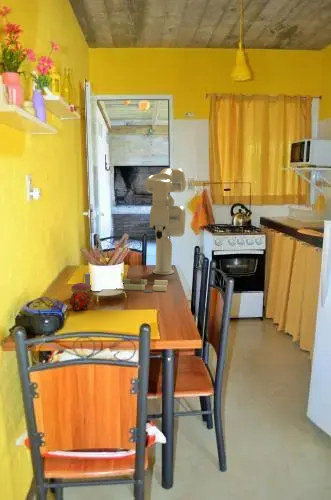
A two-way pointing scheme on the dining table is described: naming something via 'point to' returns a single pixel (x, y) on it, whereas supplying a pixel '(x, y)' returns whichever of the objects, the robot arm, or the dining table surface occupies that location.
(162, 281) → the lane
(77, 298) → the dragon fruit
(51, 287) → the dining table surface
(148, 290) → the pads
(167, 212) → the robot arm
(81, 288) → the cupcake
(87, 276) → the medicine box
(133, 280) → the walnut block
